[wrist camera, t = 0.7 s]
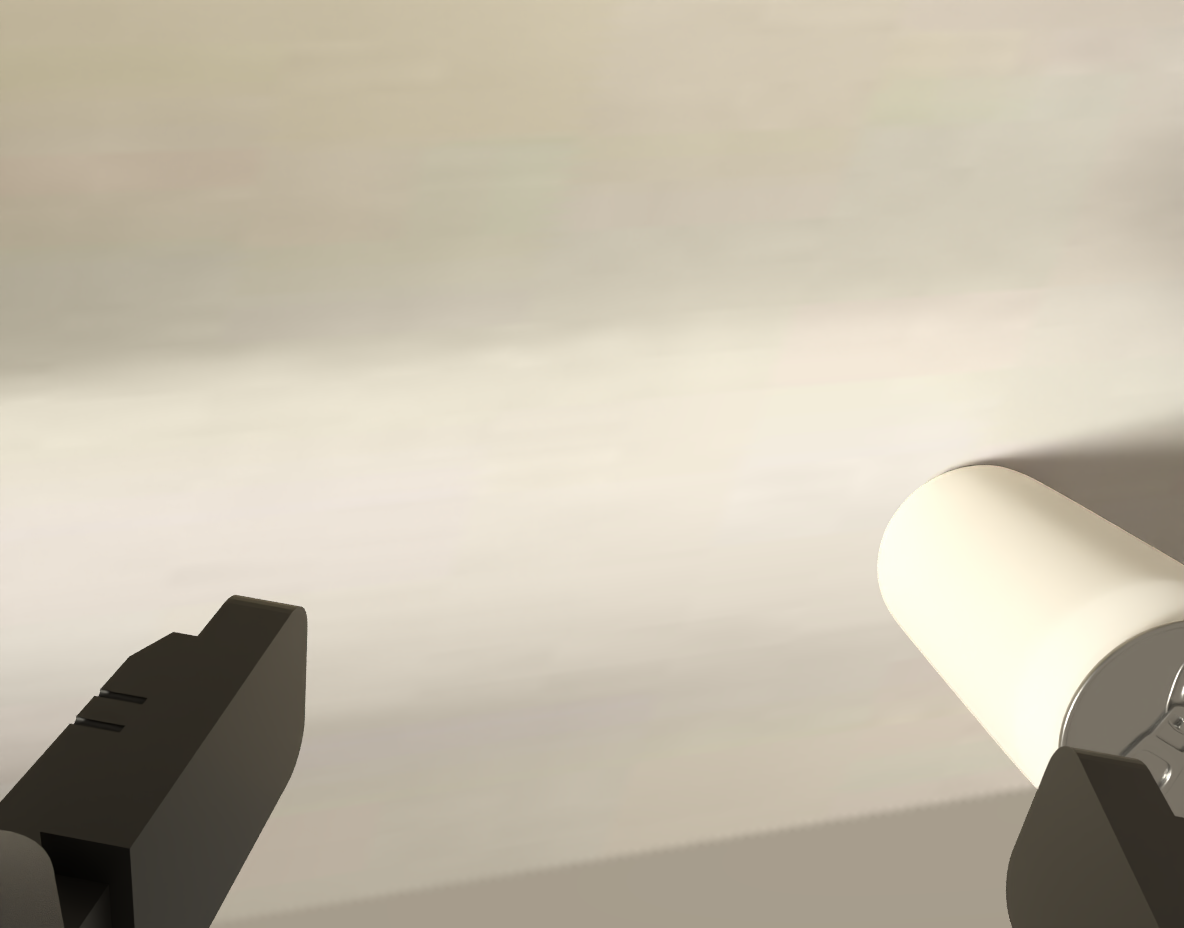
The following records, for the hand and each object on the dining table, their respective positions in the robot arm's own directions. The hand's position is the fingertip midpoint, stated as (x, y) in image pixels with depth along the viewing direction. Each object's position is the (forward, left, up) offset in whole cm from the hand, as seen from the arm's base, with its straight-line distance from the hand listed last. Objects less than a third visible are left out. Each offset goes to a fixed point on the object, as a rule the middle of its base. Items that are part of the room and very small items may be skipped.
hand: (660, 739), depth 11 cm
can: (+10, +10, -22) cm, 27 cm away
